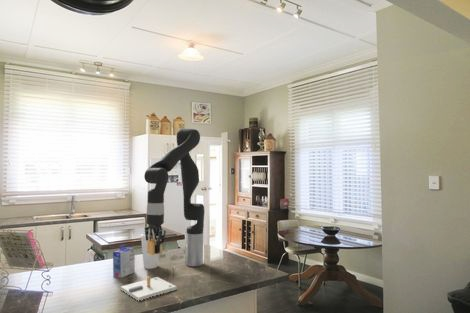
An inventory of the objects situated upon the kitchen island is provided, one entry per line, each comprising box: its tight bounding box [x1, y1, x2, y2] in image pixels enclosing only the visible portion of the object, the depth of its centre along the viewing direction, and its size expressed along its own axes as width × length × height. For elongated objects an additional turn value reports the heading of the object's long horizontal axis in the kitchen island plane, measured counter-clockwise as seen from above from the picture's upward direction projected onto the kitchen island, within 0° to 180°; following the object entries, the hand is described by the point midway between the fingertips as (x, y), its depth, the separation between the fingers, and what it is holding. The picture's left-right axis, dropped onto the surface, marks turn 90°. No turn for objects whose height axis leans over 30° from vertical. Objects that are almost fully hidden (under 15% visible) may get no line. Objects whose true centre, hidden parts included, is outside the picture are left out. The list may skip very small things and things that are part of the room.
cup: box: [140, 232, 160, 270], centre depth 174 cm, size 11×10×17 cm
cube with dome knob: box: [147, 238, 163, 255], centre depth 143 cm, size 4×4×6 cm
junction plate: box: [120, 276, 177, 302], centre depth 142 cm, size 16×18×6 cm
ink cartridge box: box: [112, 243, 136, 279], centre depth 162 cm, size 10×6×14 cm, turn 155°
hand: (154, 252), depth 143 cm, fingers closed on cube with dome knob, 4 cm apart
